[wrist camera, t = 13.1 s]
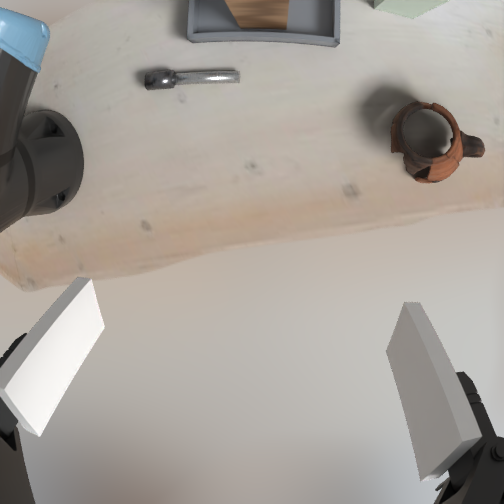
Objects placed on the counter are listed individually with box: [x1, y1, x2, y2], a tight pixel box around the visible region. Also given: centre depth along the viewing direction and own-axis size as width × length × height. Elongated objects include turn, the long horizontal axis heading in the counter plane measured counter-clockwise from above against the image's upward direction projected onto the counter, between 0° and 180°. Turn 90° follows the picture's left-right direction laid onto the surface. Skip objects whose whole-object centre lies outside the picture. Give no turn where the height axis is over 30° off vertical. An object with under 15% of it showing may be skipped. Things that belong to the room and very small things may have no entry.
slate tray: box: [187, 0, 340, 47], centre depth 26 cm, size 16×8×3 cm, turn 88°
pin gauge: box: [145, 70, 240, 90], centre depth 31 cm, size 10×2×2 cm, turn 88°
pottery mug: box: [391, 101, 485, 183], centre depth 30 cm, size 12×10×8 cm
